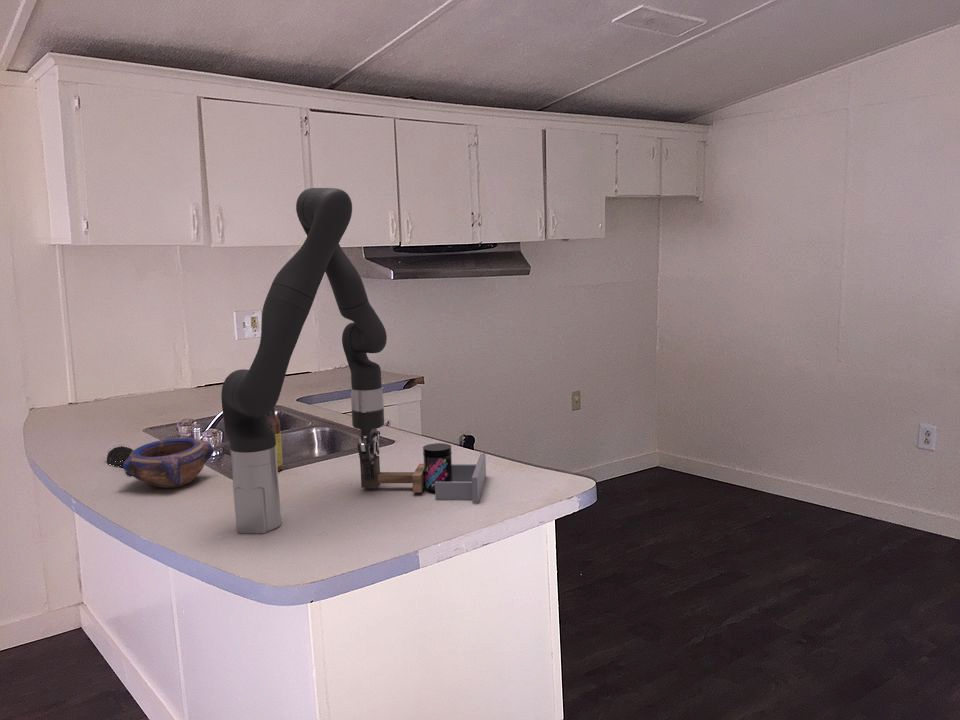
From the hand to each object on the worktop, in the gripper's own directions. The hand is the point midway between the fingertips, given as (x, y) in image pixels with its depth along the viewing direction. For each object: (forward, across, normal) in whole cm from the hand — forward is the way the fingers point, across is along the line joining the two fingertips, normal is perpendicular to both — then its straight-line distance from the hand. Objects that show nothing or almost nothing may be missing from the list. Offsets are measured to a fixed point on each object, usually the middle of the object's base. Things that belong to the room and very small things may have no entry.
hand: (370, 477), depth 193 cm
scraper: (+2, 0, +5) cm, 6 cm away
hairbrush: (+4, -20, -72) cm, 75 cm away
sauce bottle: (+3, -15, -30) cm, 34 cm away
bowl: (+3, -4, -52) cm, 53 cm away
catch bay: (+3, 0, +22) cm, 22 cm away
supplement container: (+3, 0, +16) cm, 17 cm away
